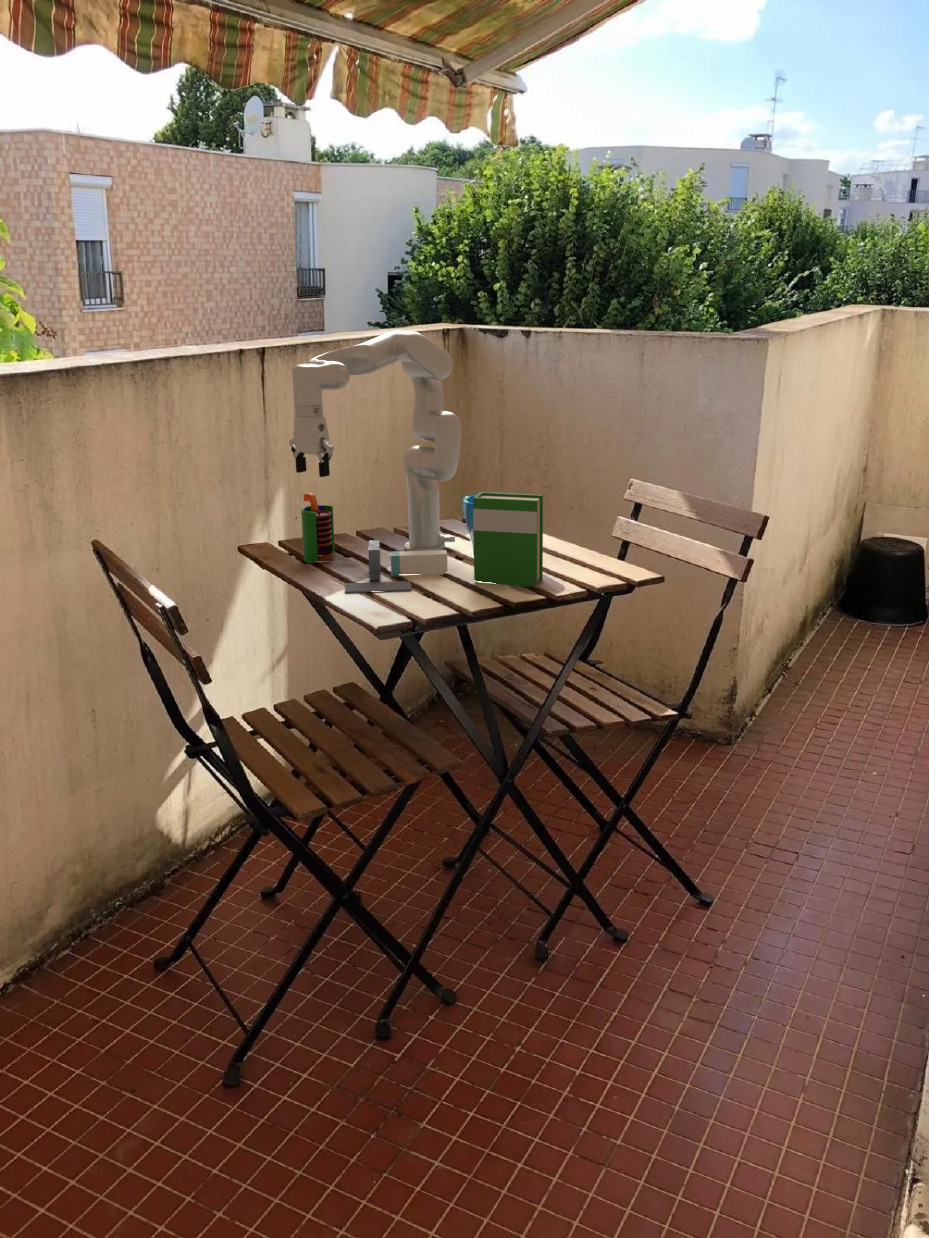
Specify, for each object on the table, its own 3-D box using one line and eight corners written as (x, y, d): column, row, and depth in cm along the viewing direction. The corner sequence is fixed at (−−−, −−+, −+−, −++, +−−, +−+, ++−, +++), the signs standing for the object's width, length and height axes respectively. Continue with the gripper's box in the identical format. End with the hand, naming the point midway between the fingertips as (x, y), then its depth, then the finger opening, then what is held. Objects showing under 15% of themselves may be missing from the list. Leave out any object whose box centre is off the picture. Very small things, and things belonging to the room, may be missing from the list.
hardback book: (542, 579, 306) (543, 494, 298) (536, 587, 299) (537, 500, 292) (481, 575, 311) (480, 492, 303) (474, 583, 304) (473, 497, 296)
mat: (411, 582, 305) (411, 580, 305) (411, 591, 298) (411, 589, 298) (346, 584, 304) (345, 583, 304) (344, 593, 297) (344, 591, 297)
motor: (327, 564, 324) (323, 498, 317) (299, 563, 326) (294, 497, 319) (338, 555, 333) (334, 490, 327) (310, 554, 335) (306, 490, 328)
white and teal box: (446, 570, 317) (446, 549, 315) (447, 574, 312) (447, 553, 310) (391, 571, 316) (390, 551, 314) (391, 576, 312) (390, 555, 310)
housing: (380, 566, 321) (379, 537, 318) (380, 582, 306) (379, 552, 303) (370, 566, 321) (369, 537, 318) (369, 583, 306) (368, 553, 303)
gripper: (340, 412, 292) (344, 475, 298) (299, 406, 304) (303, 468, 309) (319, 415, 287) (323, 480, 293) (277, 410, 298) (282, 472, 304)
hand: (312, 474), depth 301 cm, fingers open, 9 cm apart
